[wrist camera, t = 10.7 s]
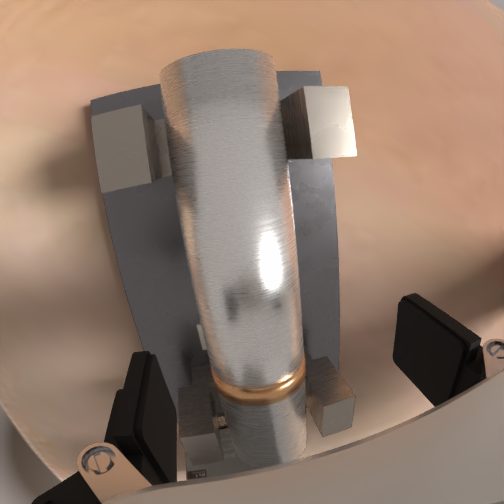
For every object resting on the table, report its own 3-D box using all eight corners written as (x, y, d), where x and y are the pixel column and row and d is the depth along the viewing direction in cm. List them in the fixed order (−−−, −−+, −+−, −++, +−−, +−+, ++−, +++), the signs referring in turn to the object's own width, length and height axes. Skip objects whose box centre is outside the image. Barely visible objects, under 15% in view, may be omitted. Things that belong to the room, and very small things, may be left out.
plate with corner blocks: (314, 75, 18) (374, 39, 11) (333, 379, 25) (372, 438, 18) (95, 103, 16) (45, 73, 9) (173, 415, 23) (175, 486, 16)
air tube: (162, 90, 14) (152, 58, 9) (260, 78, 15) (290, 46, 10) (228, 423, 20) (240, 476, 16) (294, 408, 21) (318, 456, 16)
